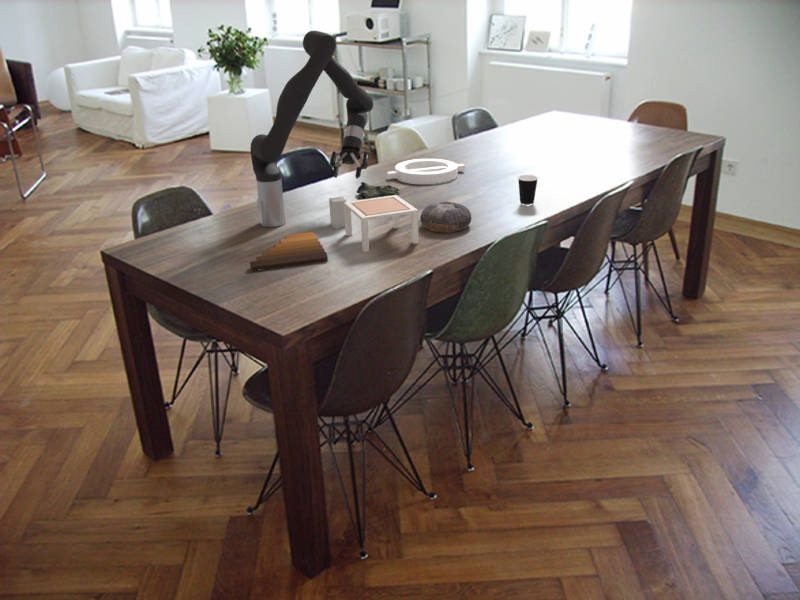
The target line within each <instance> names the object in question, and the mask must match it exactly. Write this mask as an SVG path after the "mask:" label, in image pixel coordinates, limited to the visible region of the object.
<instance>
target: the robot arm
mask: <svg viewBox="0 0 800 600" xmlns="http://www.w3.org/2000/svg"><path fill="white" fill-rule="evenodd" d="M302 48H303V50H304V51H305V53H306V54H307V55H308V57H309V58H308V61H307V62H306V63H305V65H304V66H303V67H302V68H301V69H300V70H298V72H296V73H295V74H294V75H293V76H292V77H291V78H290V79H288V81H287V83H286V84H285V85H284V87H283V89H282V91H281V93H280V95H279V97H278V100H277V105H276V113H275V119H274V122H273V124H272V126H271V128H270V130H269V131H268V133H267V134H262V133H261V134H256V136H254V138H252V140H251V142H250V156H251V164H252V169H253V173H254V175H255V180H256V188H257V198H256V200H257V203H256V204H257V211H258V221H259V224H260V226H261V227H262V226H263V227H262V228H277V227H280V226H283V225H285V224H286V214H285V213H286V212H285V203H284V192H283V191H284V190H283V182H282V172H281V169H279V167H278V166H277V163H276V162H277V161H278V160H279V159H280V158H281V156H282V155H283V152H284V149H285V147H286V144H287V142H288V140H289V136H290V134H291V132H292V130H293V128H294V126H295V125H296V123H297V120H298V118H299V116H300V114H301V112H302V111H303V109H304V107H305V105H306V103H307V101H308V99H309V97H310V95H311V93H312V91H313V89H314V88H315V85H316V83H318V80H319V78H320V77H321V75H322V73H323V72H324V73H325V74H326V75H327V76H328V77H329V78H330V80H331V81H332V82H333V84H334V86H335V87H336V88H337V90H338V91H339V92H340V93H341V95H342V97H344V98H345V99H347V100H346V103H345V106H346V113H347V114H346V117H347V118H346V119H347V120H346V121H347V122H346V126H345V131H344V133H343V138H342V144H341V148H340V149H341V150H340V152H336V151H333V150H332V153H331V158H330V160H329V165H330V168H331V169H332V170H333V171H332V175H333V177H334V178H336V179H337V178H338V174H339V169H340V168H342V167H343V166H344V165H351V166H352V165H354V164H355V165H356V170H355V178H356V179H359V178H360V177H361V175H362V174H361V173H362V170H366V169H368V161H369V156H368V153H367V151H365V152H363V153H361V152H362V148H363V142H364V137H365V136H364V134H365V133H364V132H365V127H366V118H365V117H364V116H363V115H362V114H364V113H370V112H371V111H372V110H373V108H374V101H373V98H372V96H371V95H370V93H369V92H367V91H366V90H365V89H364V88H362V87H361V86H360V85H358V84H357V82H356V80H355V79H354V78H353V76H352V75H351V73H350V72H349V71H348V70H347V69H346V68H345V67H344V66H343V65H342V64H341V63H340V62H339V61H337V60H336V59H335V57H334V54H335V52H336V49H337V42H336V39H335V36H334V35H333V34H331V33H328V32H323V31H319V30H310V31H308V32H307V33H305V35H304V36H303V39H302ZM360 159H362V163H360V162H359V160H360Z"/></svg>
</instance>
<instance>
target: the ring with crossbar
mask: <svg viewBox="0 0 800 600" xmlns="http://www.w3.org/2000/svg"><path fill="white" fill-rule="evenodd" d="M394 169H395V170H391V171H387V172H386V173H387V174H386V176H387V178H388V179H389V180H391V179H396V180H397V181H399V182H402V183H405V184H411V185H412V184H413V185H436V184H435V183H438V184H442V183H441V182H444V183H446V182H445V181H449V180H452V179H454V178H456V177H457V178H458V176H457V175H458V174H459V173H460V172H465V171H466V165H465V164H463V163H459V164H458V163H456V162H454V161H452V160H448V159H447V160H446V159H441V158H414V159H408V160H404V161H402V162H397V164H396V165H395V166H394ZM458 172H459V173H458ZM457 178H456V179H457ZM454 180H455V179H454ZM452 181H453V180H452ZM449 182H450V181H449Z"/></svg>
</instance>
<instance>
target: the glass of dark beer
mask: <svg viewBox="0 0 800 600" xmlns="http://www.w3.org/2000/svg"><path fill="white" fill-rule="evenodd" d="M538 179H539V177H538V176H537V175H534V174H524V175H523V174H522V175H519V176H518V177H517V180H518V192H519V193H518V194H519V203H520V205H521V204H524V205H530V204H533V205H534V203H535V197H536V192H537V191H536V190H537V186H538Z"/></svg>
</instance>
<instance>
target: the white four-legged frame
mask: <svg viewBox="0 0 800 600" xmlns="http://www.w3.org/2000/svg"><path fill="white" fill-rule="evenodd" d="M386 198H394V199H395V200H396V201H398V202H399V203H401V204H402V205H403V206H405V207H406V208H408V210H402V211H396V212H389V213H382V214H375V215H368V216H365V215H364V214H363V213H362V212H361V211H359V210H358V209H357V208H356V207H355V206H353V203H358V202H365V201H372V200H379V199H386ZM344 212H345V227H344V229H345V235H346V236H353V230H352V229H353V228H352V213H353V214H354V215H355V216H356V217H357V218H359V220H360V227H361V246H362V248H361V249H362V252H364V253H366V252H370V244H369V243H370V242H369V241H370V240H369V221H371V220H378V219H386V218H391V219H392V228H393V229H399V228H400V218H399V217H400V216H405V215H410V223H411V225H410V226H411V231H410V232H411V243H412V244H413V245H415V244H419V210H418V209H417V208H416V207H414V206H413V205H411V204H410V203H408V202H407V201H406V200H404V199H403V198H401V197H400V196H399V195H398V194H397V195H392V196H379V197H378V198H376V197H375V198H371V199H366V198H364V199H357V200H351V201H346V202H344Z"/></svg>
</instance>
